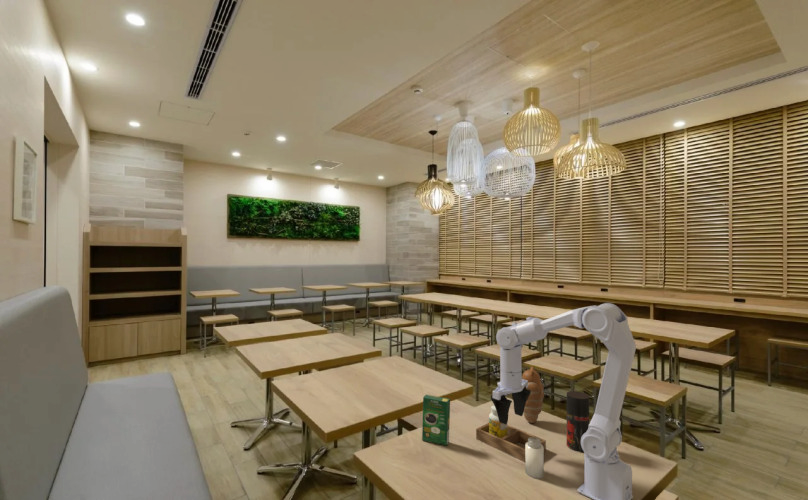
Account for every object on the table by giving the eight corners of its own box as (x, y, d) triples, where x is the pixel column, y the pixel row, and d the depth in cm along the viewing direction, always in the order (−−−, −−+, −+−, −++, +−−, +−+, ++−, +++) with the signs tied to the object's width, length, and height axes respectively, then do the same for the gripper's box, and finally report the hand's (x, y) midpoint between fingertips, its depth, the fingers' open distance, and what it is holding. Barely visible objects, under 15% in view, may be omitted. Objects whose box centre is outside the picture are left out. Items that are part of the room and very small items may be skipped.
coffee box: (450, 442, 111) (450, 397, 111) (447, 446, 108) (448, 401, 108) (425, 436, 114) (425, 393, 114) (421, 441, 111) (421, 396, 111)
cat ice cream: (544, 430, 118) (544, 373, 118) (518, 426, 121) (518, 370, 121) (543, 418, 127) (543, 365, 127) (519, 415, 129) (519, 363, 129)
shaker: (546, 473, 95) (546, 440, 95) (537, 480, 92) (537, 446, 92) (531, 466, 98) (531, 433, 98) (521, 472, 95) (522, 439, 95)
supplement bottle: (511, 441, 111) (511, 409, 111) (497, 445, 109) (497, 412, 109) (498, 433, 116) (498, 402, 116) (485, 437, 113) (485, 406, 113)
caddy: (545, 450, 106) (545, 440, 106) (527, 463, 100) (528, 452, 100) (494, 429, 119) (494, 419, 119) (476, 438, 112) (476, 429, 112)
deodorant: (591, 453, 105) (591, 399, 105) (569, 450, 106) (569, 398, 106) (585, 442, 110) (585, 392, 111) (564, 440, 112) (564, 390, 112)
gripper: (512, 361, 112) (513, 407, 112) (483, 371, 102) (483, 421, 102) (534, 367, 106) (534, 414, 106) (505, 378, 97) (505, 430, 97)
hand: (511, 418), depth 104 cm, fingers open, 7 cm apart
